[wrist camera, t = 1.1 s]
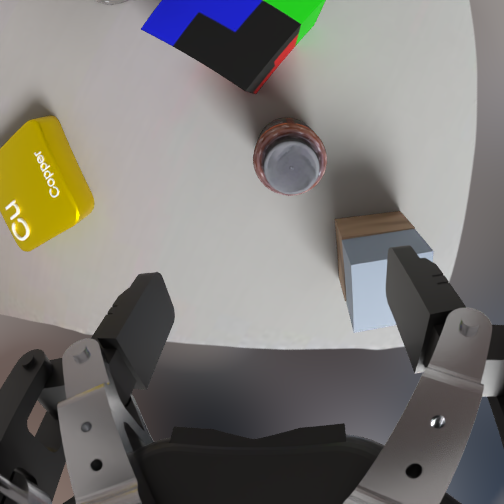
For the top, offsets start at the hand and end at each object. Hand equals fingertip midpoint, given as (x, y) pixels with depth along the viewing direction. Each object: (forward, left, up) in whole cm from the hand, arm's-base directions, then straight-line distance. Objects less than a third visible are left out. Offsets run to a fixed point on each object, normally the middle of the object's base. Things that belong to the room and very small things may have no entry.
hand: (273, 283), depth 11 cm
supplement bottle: (-1, +1, -24) cm, 24 cm away
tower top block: (+12, +9, -19) cm, 25 cm away
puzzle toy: (-14, -1, -24) cm, 28 cm away
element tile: (-4, -32, -25) cm, 41 cm away
